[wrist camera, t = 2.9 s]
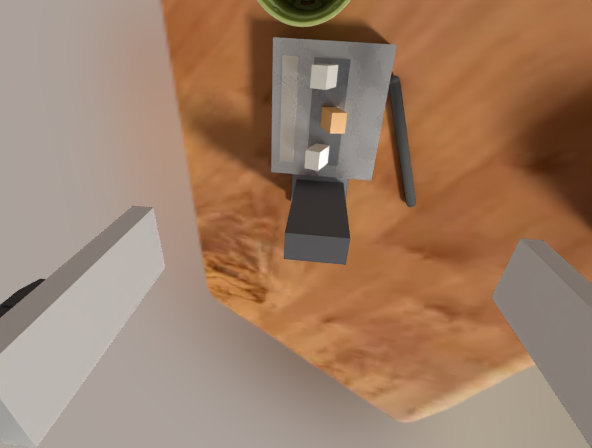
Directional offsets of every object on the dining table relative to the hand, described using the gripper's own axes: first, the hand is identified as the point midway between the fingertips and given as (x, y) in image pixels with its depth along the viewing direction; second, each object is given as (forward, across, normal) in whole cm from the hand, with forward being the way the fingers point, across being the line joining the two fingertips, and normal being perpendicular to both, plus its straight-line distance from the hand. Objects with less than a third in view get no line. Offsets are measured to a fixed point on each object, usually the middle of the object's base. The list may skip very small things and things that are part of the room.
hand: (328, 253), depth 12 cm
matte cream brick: (+26, 0, -4) cm, 26 cm away
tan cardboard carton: (+26, 0, 0) cm, 26 cm away
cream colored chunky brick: (+26, 0, +4) cm, 26 cm away
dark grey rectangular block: (+29, 0, -10) cm, 30 cm away
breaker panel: (+29, 0, 0) cm, 29 cm away
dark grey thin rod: (+29, +10, -3) cm, 30 cm away
